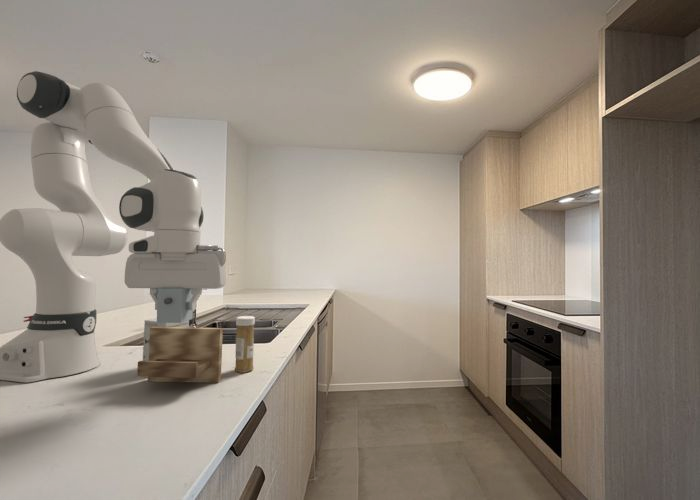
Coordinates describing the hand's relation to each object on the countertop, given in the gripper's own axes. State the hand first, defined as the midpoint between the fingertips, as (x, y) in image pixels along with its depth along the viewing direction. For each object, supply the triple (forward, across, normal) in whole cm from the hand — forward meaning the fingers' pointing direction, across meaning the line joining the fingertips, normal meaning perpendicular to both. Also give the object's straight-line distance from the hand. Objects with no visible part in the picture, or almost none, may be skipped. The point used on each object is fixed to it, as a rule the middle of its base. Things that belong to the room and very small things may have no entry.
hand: (175, 309), depth 70 cm
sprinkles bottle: (+17, -10, -14) cm, 24 cm away
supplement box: (+17, +10, -14) cm, 24 cm away
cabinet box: (+2, 0, 0) cm, 2 cm away
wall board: (+17, 0, -2) cm, 17 cm away
